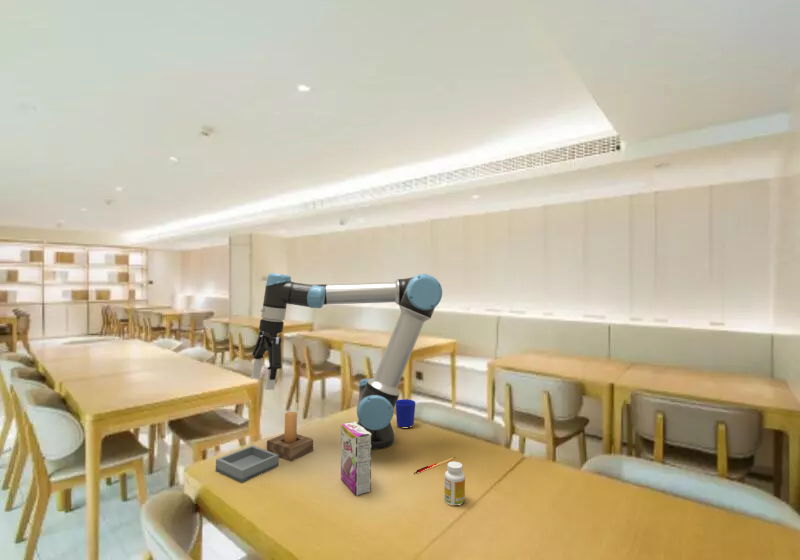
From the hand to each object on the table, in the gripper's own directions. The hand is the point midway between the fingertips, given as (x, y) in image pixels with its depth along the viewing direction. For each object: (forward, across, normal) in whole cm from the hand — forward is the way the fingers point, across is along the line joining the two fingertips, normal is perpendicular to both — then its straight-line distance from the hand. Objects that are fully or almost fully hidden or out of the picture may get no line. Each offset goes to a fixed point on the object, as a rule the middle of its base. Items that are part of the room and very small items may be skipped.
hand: (262, 383), depth 128 cm
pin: (+23, +2, +12) cm, 26 cm away
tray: (+25, +7, -3) cm, 26 cm away
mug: (+18, +5, +62) cm, 64 cm away
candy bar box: (+20, +35, +18) cm, 45 cm away
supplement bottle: (+17, +58, +35) cm, 70 cm away
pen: (+17, +40, +46) cm, 63 cm away
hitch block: (+23, +2, +12) cm, 26 cm away
